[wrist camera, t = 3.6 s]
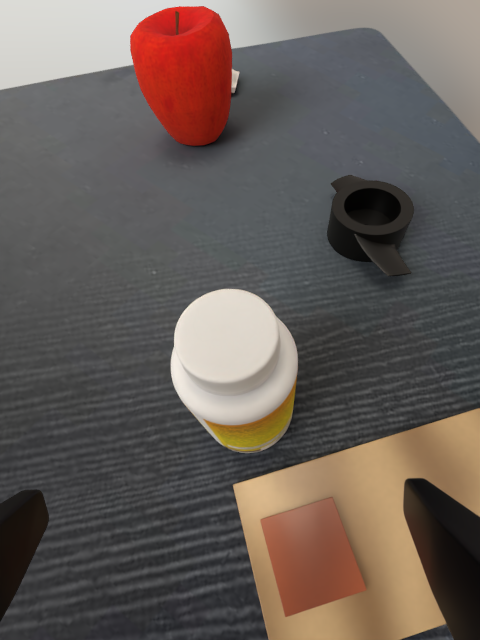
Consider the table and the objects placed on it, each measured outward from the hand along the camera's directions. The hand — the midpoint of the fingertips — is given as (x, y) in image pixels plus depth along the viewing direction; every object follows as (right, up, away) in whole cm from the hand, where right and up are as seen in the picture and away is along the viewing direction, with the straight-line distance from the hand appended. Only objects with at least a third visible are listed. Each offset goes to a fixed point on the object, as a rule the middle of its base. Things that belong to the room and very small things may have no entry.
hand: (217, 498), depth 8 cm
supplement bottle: (+1, -1, +13) cm, 13 cm away
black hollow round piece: (+11, +11, +19) cm, 25 cm away
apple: (-4, +24, +28) cm, 38 cm away
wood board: (+11, -6, +9) cm, 15 cm away
